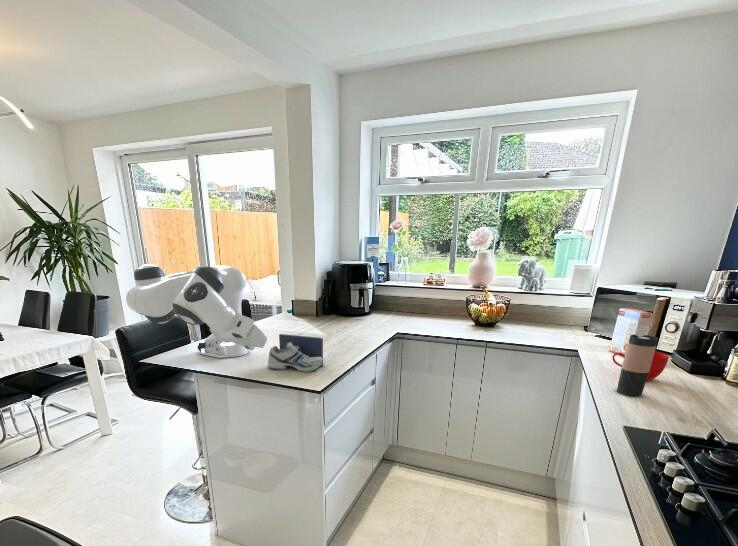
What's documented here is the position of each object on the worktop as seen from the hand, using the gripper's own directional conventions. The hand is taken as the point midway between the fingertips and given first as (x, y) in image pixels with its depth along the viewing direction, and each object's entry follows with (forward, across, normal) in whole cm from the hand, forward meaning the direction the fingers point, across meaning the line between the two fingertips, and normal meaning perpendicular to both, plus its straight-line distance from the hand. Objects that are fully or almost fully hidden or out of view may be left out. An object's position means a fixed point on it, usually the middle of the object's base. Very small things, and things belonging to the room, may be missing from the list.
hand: (250, 347), depth 135 cm
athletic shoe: (+30, -2, +9) cm, 31 cm away
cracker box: (+100, +116, +78) cm, 172 cm away
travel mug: (+57, +114, +36) cm, 132 cm away
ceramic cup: (+72, +117, +51) cm, 147 cm away
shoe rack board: (+34, -4, +13) cm, 37 cm away
